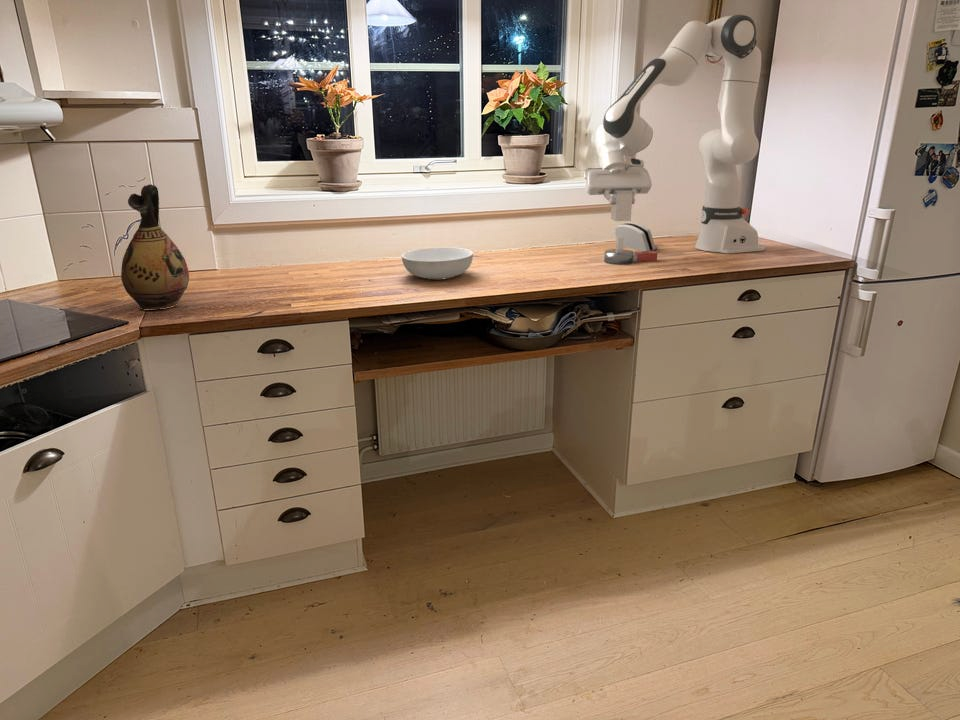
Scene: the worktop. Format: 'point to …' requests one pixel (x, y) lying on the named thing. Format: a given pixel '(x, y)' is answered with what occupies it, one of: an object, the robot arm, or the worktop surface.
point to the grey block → (622, 205)
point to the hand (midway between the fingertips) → (622, 203)
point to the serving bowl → (437, 262)
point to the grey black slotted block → (636, 236)
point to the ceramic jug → (152, 258)
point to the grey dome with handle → (627, 255)
